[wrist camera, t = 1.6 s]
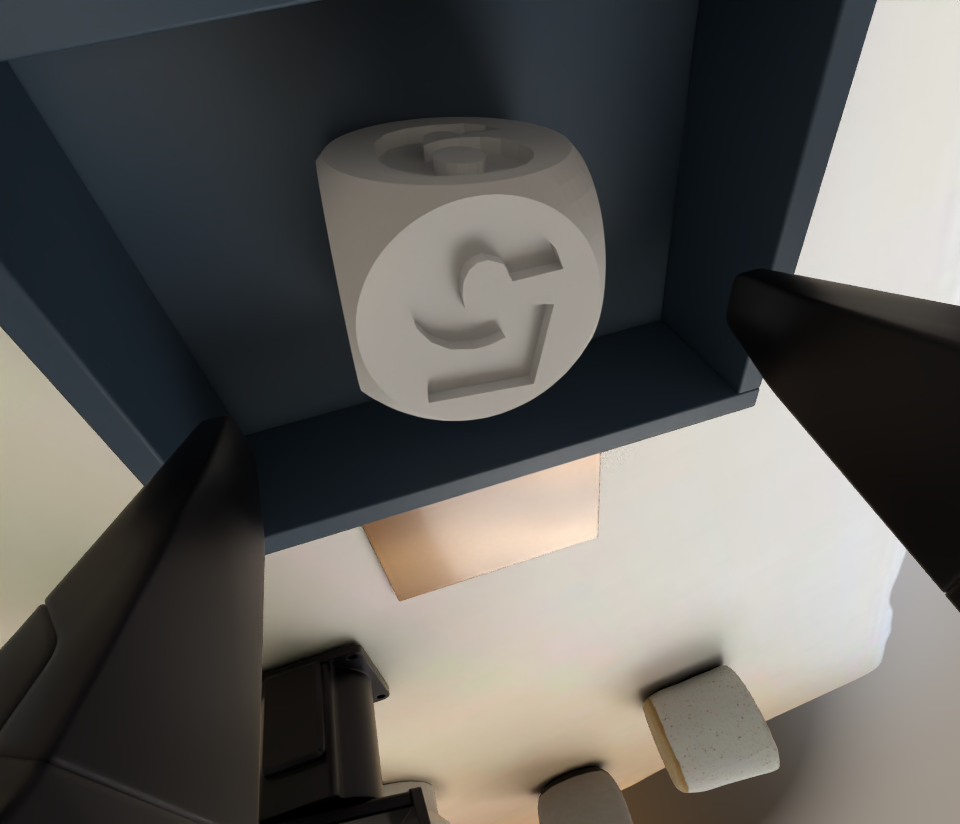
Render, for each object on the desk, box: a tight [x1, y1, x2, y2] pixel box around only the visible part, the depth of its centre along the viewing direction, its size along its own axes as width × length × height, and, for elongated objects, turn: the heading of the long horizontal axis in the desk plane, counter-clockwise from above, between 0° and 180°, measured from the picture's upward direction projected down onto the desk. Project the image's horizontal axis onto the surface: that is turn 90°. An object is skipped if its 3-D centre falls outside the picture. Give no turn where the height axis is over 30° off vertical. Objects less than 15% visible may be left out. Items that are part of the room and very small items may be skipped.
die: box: [316, 117, 606, 421], centre depth 12 cm, size 5×5×5 cm
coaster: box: [362, 453, 601, 601], centre depth 22 cm, size 10×10×1 cm
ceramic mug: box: [643, 665, 780, 793], centre depth 44 cm, size 11×8×8 cm
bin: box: [0, 0, 877, 555], centre depth 12 cm, size 11×15×5 cm
